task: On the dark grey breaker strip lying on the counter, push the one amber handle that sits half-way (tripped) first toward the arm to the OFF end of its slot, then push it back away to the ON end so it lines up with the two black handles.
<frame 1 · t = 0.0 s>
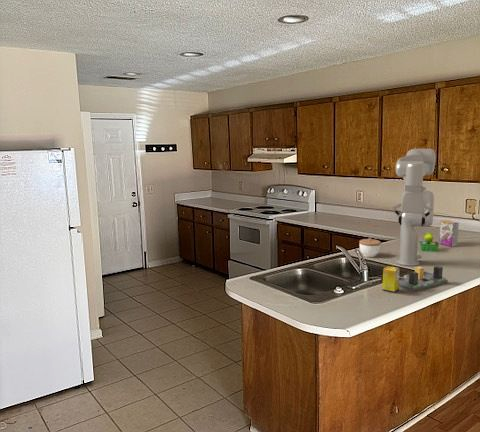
hand: (411, 225, 210), 31 cm above the worktop, tool pointing down, fingers open, 9 cm apart
lidded bowl: (369, 256, 273), on the worktop
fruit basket: (428, 250, 285), on the worktop
breaker panel: (418, 283, 222), on the worktop
supplement box: (390, 290, 213), on the worktop
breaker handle: (419, 273, 221), point 5 cm above the worktop, slide at 0.0 cm
candy bar box: (447, 245, 297), on the worktop
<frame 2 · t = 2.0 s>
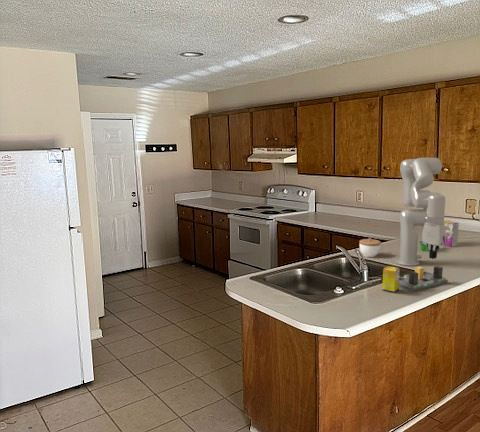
hand: (432, 258, 213), 15 cm above the worktop, tool pointing down, fingers closed
nothing on the worktop moved.
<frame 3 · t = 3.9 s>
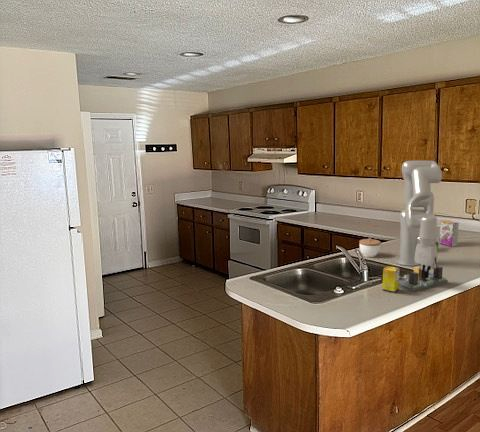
hand: (424, 277, 219), 4 cm above the worktop, tool pointing down, fingers closed
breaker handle: (417, 273, 222), point 5 cm above the worktop, slide at -0.7 cm, touching gripper
everything else where it was.
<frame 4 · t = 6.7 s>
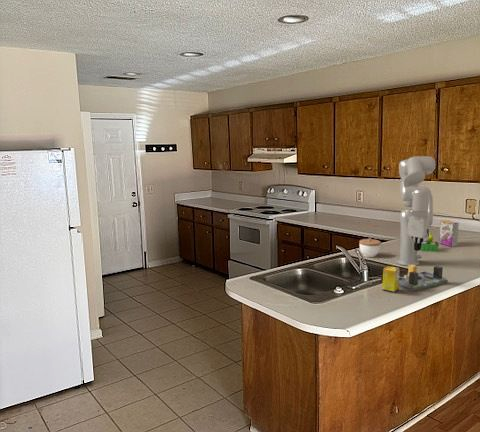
hand: (417, 250, 221), 17 cm above the worktop, tool pointing down, fingers closed
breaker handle: (412, 271, 225), point 5 cm above the worktop, slide at -4.0 cm
everything else where it was.
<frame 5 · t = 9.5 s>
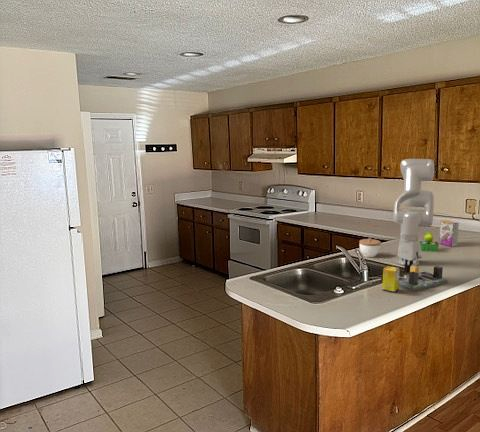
hand: (407, 271, 227), 4 cm above the worktop, tool pointing down, fingers closed
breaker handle: (414, 272, 224), point 5 cm above the worktop, slide at -2.8 cm, touching gripper
everything else where it was.
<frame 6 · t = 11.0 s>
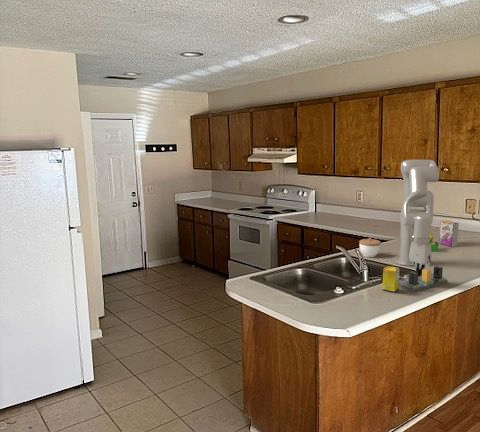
hand: (419, 275, 221), 4 cm above the worktop, tool pointing down, fingers closed
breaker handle: (426, 275, 218), point 5 cm above the worktop, slide at 4.2 cm, touching breaker panel, gripper
everything else where it was.
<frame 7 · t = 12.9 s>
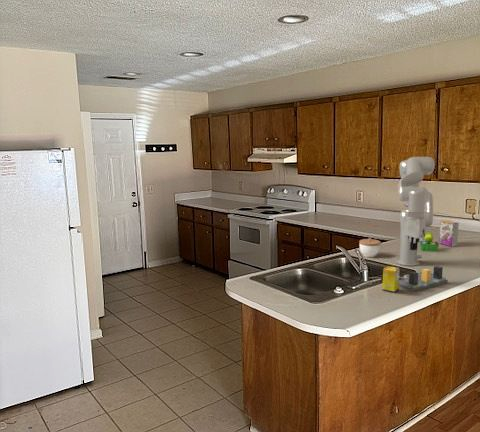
hand: (413, 249, 224), 16 cm above the worktop, tool pointing down, fingers closed
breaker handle: (425, 275, 218), point 5 cm above the worktop, slide at 4.0 cm
everything else where it was.
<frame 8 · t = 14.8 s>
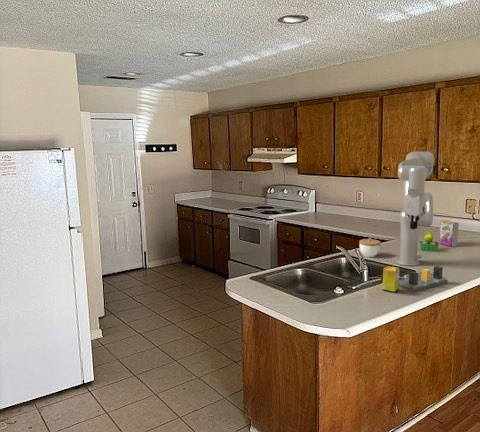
hand: (413, 228, 222), 27 cm above the worktop, tool pointing down, fingers closed
nothing on the worktop moved.
at the end: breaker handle slide at 4.0 cm; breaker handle touching nothing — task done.
